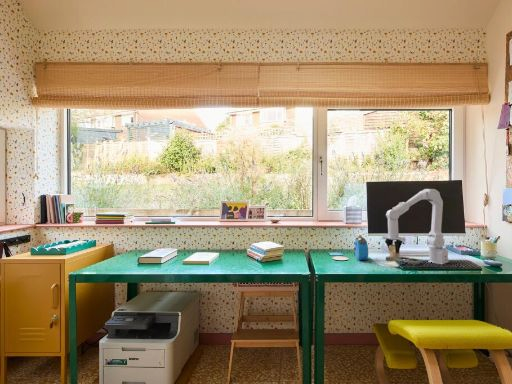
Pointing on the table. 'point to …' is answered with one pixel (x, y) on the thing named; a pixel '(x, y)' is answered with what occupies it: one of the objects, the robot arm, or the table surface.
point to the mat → (392, 264)
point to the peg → (393, 251)
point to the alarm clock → (361, 248)
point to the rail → (415, 261)
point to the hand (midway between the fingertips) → (394, 252)
